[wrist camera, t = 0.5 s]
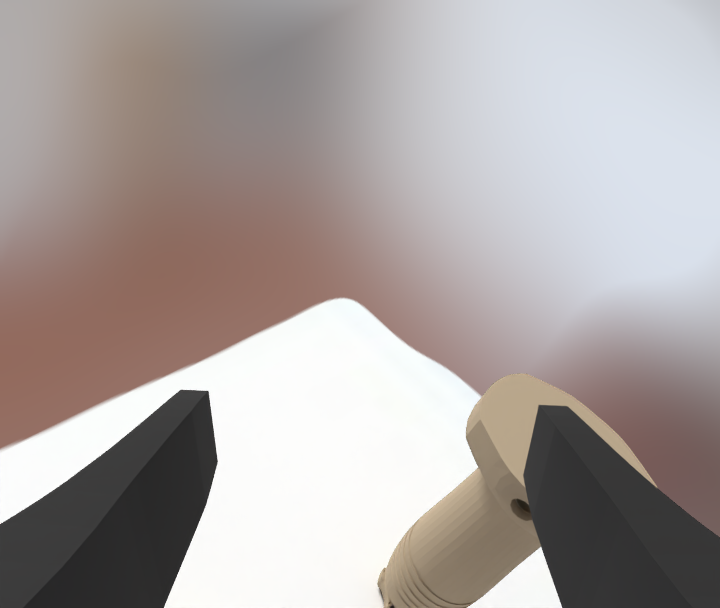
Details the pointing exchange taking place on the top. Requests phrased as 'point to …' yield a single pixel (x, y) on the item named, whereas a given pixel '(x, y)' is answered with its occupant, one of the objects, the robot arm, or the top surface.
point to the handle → (483, 504)
